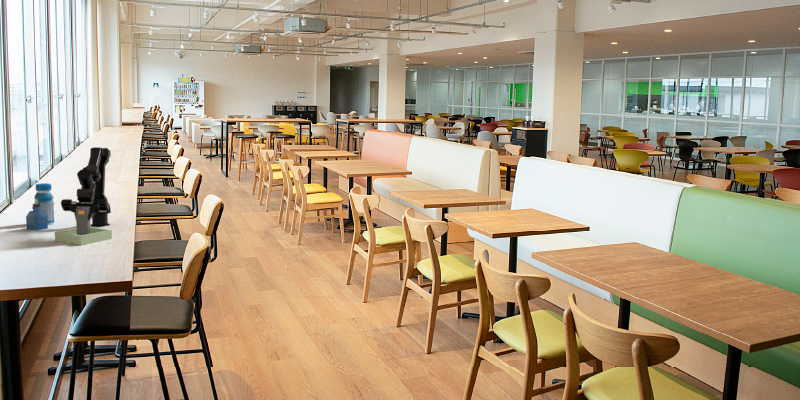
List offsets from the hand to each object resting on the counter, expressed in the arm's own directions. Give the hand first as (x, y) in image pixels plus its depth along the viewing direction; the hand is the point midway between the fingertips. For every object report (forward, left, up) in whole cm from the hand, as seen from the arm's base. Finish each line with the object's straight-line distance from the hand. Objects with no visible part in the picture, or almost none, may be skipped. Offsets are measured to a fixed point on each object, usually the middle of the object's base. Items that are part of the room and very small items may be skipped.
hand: (82, 220), depth 266 cm
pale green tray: (-1, -1, -9) cm, 9 cm away
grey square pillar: (-1, -1, -7) cm, 7 cm away
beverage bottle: (-16, -46, -9) cm, 49 cm away
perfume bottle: (-6, -38, -9) cm, 39 cm away
